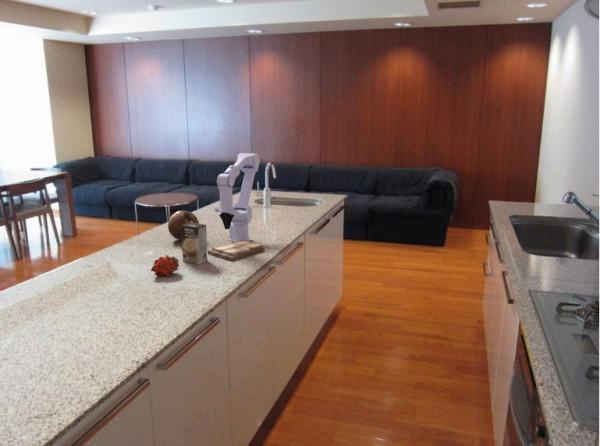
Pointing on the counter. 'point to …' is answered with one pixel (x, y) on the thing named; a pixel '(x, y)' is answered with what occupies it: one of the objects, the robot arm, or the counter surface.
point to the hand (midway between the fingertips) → (227, 228)
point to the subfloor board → (253, 250)
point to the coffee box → (194, 243)
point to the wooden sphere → (180, 222)
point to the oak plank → (231, 249)
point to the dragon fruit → (165, 266)
